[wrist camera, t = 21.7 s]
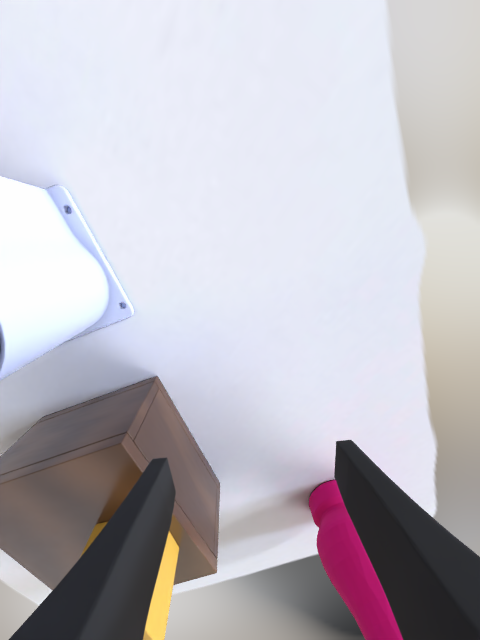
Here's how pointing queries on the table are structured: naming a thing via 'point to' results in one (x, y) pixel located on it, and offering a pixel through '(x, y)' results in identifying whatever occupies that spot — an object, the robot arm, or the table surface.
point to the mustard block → (162, 587)
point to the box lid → (82, 510)
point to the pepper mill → (350, 565)
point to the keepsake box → (148, 435)
